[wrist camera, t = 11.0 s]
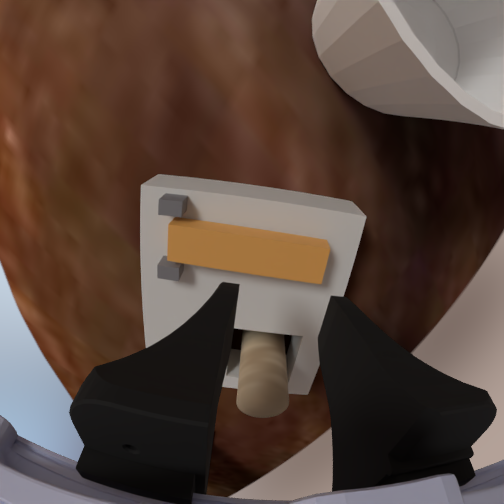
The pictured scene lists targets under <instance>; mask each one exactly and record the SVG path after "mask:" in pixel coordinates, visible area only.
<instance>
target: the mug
mask: <svg viewBox="0 0 504 504" xmlns="http://www.w3.org/2000/svg"><path fill="white" fill-rule="evenodd" d="M312 37H313V40H314V43H315V47H316V50H317V53H318V56H319V58H320V60H321V62H322V63H323V65H324V67H325V68H326V70H327V72H328V73H329V75H330V77H331V78H332V79H333V80H334V81H335V82H336V83H337V84H338V85H339V86H340V87H341V88H342V89H343V90H344V91H345V93H347V94H348V95H350V96H351V97H353V98H354V99H356V100H357V101H358V102H360V103H361V104H363V105H364V106H367V107H369V108H372V109H374V110H377V111H379V112H381V113H384V114H391V115H398V116H406V117H418V118H429V119H439V120H448V121H456V122H463V123H470V124H476V125H483V126H489V127H494V128H500V129H504V0H317V2H316V6H315V9H314V13H313V16H312Z"/></svg>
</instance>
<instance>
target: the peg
mask: <svg viewBox="0 0 504 504" xmlns="http://www.w3.org/2000/svg"><path fill="white" fill-rule="evenodd" d="M288 405H289V395H288V380H287V367H286V354H285V341H284V334H277V333H268V332H260V331H252V330H244V329H243V333H242V345H241V356H240V368H239V379H238V391H237V406H238V408H239V409H240V410H241V411H242V412H243V413H245V414H247V415H250V416H253V417H260V418H266V417H272V416H276V415H278V414H280V413H282V412H283V411H285V410H286V409H287V407H288Z"/></svg>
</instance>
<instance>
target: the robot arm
mask: <svg viewBox="0 0 504 504" xmlns="http://www.w3.org/2000/svg"><path fill="white" fill-rule="evenodd" d="M239 286H240V284H235V283H228V282H222V283H220V284H219V286H218V288H217V289H216V290H215V292H214V293H213V294H212V296H211V297H210V298H209V299H208V300H207V301H206V302H205V304H204V305H203V306H202V307H201V308H200V309H199V310H198V311H197V312H196V313H195V314H194V315H193V316H192V317H190V318H189V319H188V320H187V321H186V322H185V323H184V324H182V325H181V326H180V327H179V328H177V329H176V330H175V331H173V332H172V333H171V334H169V335H168V336H166V337H164V338H163V339H161V340H160V341H158V342H156V343H155V344H153V345H151V346H149V347H147V348H145V349H143V350H141V351H139V352H137V353H134V354H132V355H130V356H127V357H124V358H122V359H119V360H116V361H113V362H109V363H106V364H103V365H99V366H96V367H94V369H93V370H92V371H91V373H90V374H89V375H88V377H87V378H86V379H85V381H84V382H83V384H82V385H81V387H80V389H79V391H78V393H77V395H76V397H75V398H74V400H73V402H72V404H71V407H70V412H69V413H70V416H71V420H72V422H73V424H74V426H75V428H76V430H77V432H78V434H79V436H80V438H81V439H82V441H83V443H84V445H85V446H84V448H83V451H82V453H81V455H80V458H79V460H78V462H76V461H74V460H71V459H69V458H66V457H64V456H61V455H59V454H57V453H54V452H52V451H50V450H47V449H45V448H43V447H41V446H39V445H37V444H35V443H32V442H30V441H28V440H26V439H24V438H22V437H20V436H18V435H17V432H16V431H15V429H14V427H13V426H12V425H11V424H10V423H9V422H8V421H7V420H6V419H5V418H3V417H2V416H1V415H0V504H504V460H502V461H499V462H497V463H494V464H492V465H489V466H486V467H484V468H481V469H478V470H476V471H474V469H473V467H472V464H471V462H470V459H469V458H471V457H472V456H473V454H474V453H473V450H472V448H471V446H472V445H473V443H475V442H476V441H477V439H478V438H479V437H480V436H481V435H482V434H483V433H484V432H485V431H486V430H487V429H488V427H489V426H490V425H491V424H492V422H493V420H494V418H495V416H496V411H497V409H496V407H495V405H494V403H493V401H492V399H491V397H490V396H489V394H488V392H487V391H486V390H483V389H480V388H477V387H474V386H472V385H469V384H466V383H463V382H461V381H459V380H457V379H454V378H452V377H450V376H448V375H446V374H444V373H442V372H440V371H438V370H436V369H434V368H433V367H431V366H429V365H427V364H426V363H424V362H423V361H421V360H419V359H418V358H416V357H415V356H413V355H412V354H411V353H409V352H408V351H406V350H405V349H404V348H402V347H401V346H400V345H398V344H397V343H396V342H395V341H394V340H392V339H391V338H390V337H389V336H388V335H387V334H385V333H384V332H383V331H382V330H381V329H380V328H379V327H378V326H377V325H375V324H374V323H373V322H372V321H371V320H370V319H369V318H368V317H367V316H366V315H365V314H364V313H363V312H362V311H361V310H360V309H359V308H358V307H357V306H356V305H355V304H354V303H352V302H351V301H350V300H349V299H348V298H347V297H341V296H332V295H331V297H330V300H329V303H328V306H327V310H326V313H325V316H324V319H323V322H322V326H321V329H320V332H319V335H318V352H319V361H320V366H321V371H322V375H323V380H324V385H325V389H326V394H327V398H328V403H329V408H330V415H331V427H332V445H333V485H332V486H333V487H332V492H327V493H320V494H314V495H311V496H307V497H303V498H299V499H296V500H293V501H276V500H275V501H273V500H253V499H239V498H229V497H220V496H212V495H206V492H207V484H208V475H209V467H210V459H211V452H212V444H213V436H214V429H215V421H216V414H217V407H218V402H219V397H220V393H221V389H222V385H223V381H224V377H225V373H226V369H227V364H228V360H229V356H230V352H231V346H232V338H233V331H234V323H235V316H236V308H237V301H238V294H239Z"/></svg>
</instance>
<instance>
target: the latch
mask: <svg viewBox="0 0 504 504" xmlns="http://www.w3.org/2000/svg"><path fill="white" fill-rule="evenodd" d="M329 253H330V246H329V244H328V241H327V240H325V239H319V238H313V237H307V236H301V235H294V234H288V233H282V232H275V231H269V230H262V229H256V228H249V227H243V226H236V225H229V224H222V223H216V222H209V221H202V220H195V219H187V218H180V217H175V218H174V219H173V220H172V221H171V222H170V223H169V224H168V249H167V261H172V262H178V263H184V264H190V265H196V266H203V267H209V268H215V269H222V270H228V271H234V272H241V273H247V274H254V275H260V276H267V277H274V278H280V279H287V280H294V281H301V282H308V283H315V284H321V283H322V280H323V276H324V272H325V268H326V265H327V261H328V257H329Z"/></svg>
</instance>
